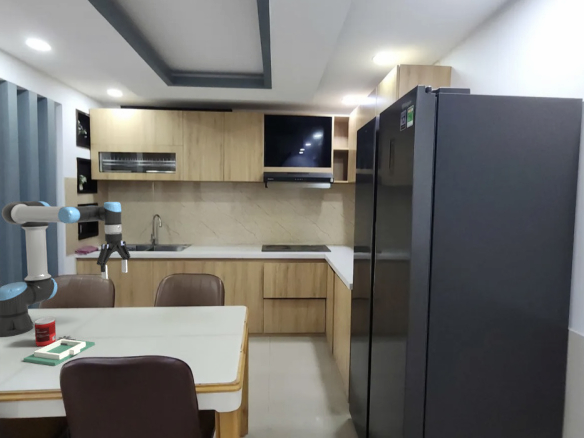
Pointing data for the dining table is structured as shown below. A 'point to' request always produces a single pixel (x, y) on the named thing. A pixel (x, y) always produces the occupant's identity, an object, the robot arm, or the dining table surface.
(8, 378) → the dining table surface
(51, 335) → the canned food
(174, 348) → the dining table surface
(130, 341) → the dining table surface
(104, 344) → the dining table surface
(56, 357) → the board
